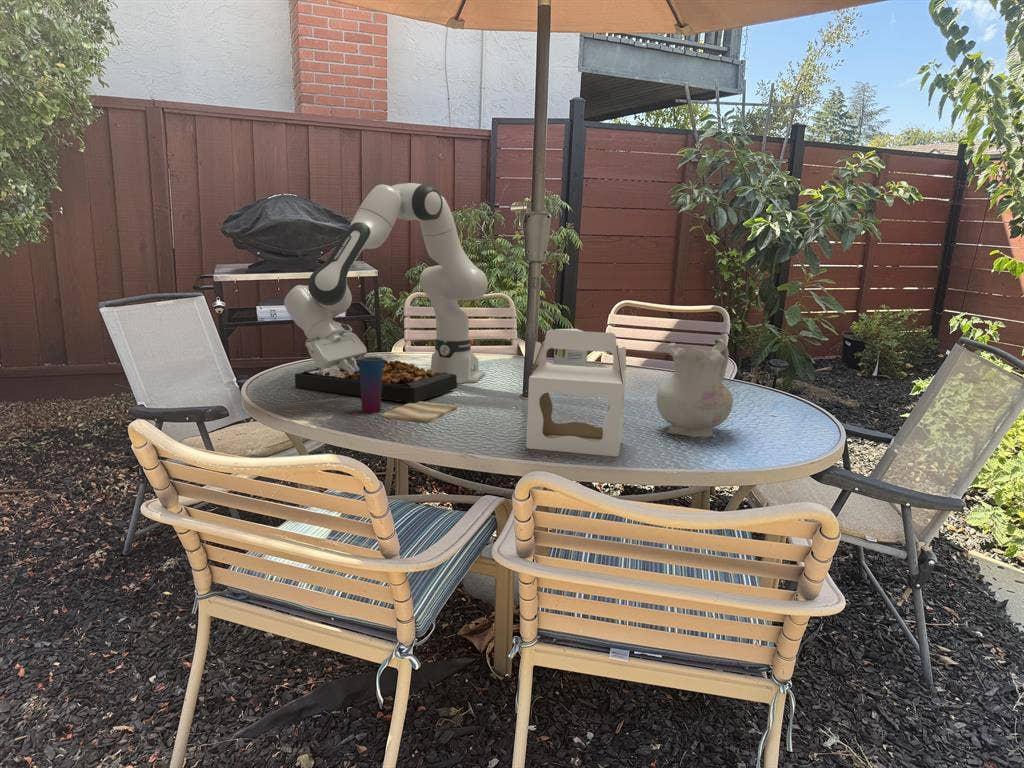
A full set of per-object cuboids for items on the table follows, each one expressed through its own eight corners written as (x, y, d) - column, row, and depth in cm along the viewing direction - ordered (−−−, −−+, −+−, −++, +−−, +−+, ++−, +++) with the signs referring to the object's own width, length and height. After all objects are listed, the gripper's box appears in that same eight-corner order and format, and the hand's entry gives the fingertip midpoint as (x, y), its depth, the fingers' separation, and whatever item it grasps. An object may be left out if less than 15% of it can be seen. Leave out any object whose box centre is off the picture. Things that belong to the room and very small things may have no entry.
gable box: (622, 441, 174) (629, 330, 168) (619, 457, 161) (627, 337, 155) (534, 434, 178) (539, 325, 172) (525, 448, 165) (529, 331, 160)
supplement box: (552, 373, 259) (554, 328, 256) (573, 372, 263) (576, 328, 259) (564, 378, 251) (567, 332, 247) (586, 377, 254) (589, 331, 251)
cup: (387, 409, 198) (387, 357, 195) (376, 414, 191) (376, 361, 188) (365, 407, 200) (365, 355, 197) (354, 412, 193) (353, 359, 190)
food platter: (295, 387, 222) (293, 355, 220) (344, 375, 243) (343, 346, 241) (414, 403, 203) (414, 368, 201) (456, 388, 225) (456, 356, 223)
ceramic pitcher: (680, 421, 200) (681, 335, 196) (747, 429, 187) (749, 337, 183) (643, 436, 183) (643, 342, 179) (714, 446, 171) (715, 345, 167)
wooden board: (414, 403, 206) (414, 400, 206) (457, 408, 201) (457, 406, 201) (382, 416, 190) (382, 413, 190) (427, 423, 185) (427, 420, 185)
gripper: (309, 332, 186) (340, 372, 184) (352, 324, 205) (381, 360, 203) (295, 347, 188) (326, 386, 187) (340, 338, 207) (368, 374, 206)
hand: (355, 373), depth 195 cm, fingers closed
